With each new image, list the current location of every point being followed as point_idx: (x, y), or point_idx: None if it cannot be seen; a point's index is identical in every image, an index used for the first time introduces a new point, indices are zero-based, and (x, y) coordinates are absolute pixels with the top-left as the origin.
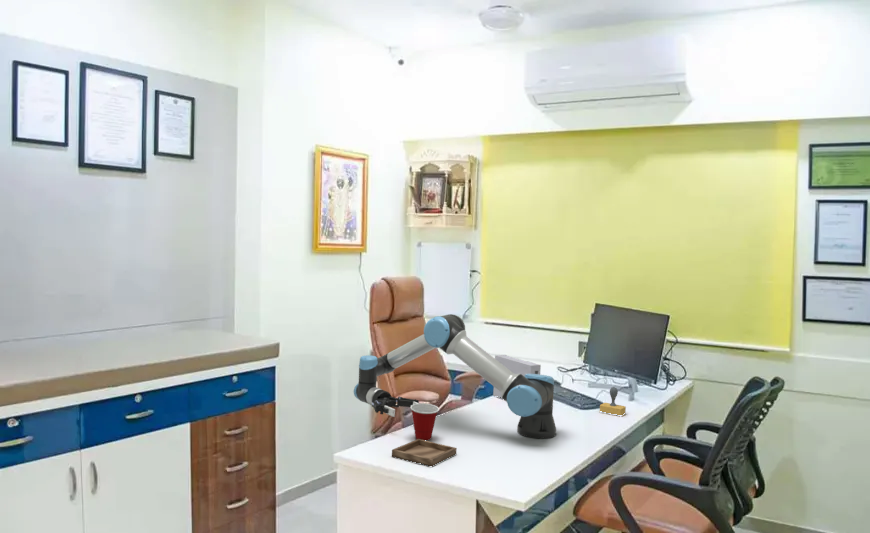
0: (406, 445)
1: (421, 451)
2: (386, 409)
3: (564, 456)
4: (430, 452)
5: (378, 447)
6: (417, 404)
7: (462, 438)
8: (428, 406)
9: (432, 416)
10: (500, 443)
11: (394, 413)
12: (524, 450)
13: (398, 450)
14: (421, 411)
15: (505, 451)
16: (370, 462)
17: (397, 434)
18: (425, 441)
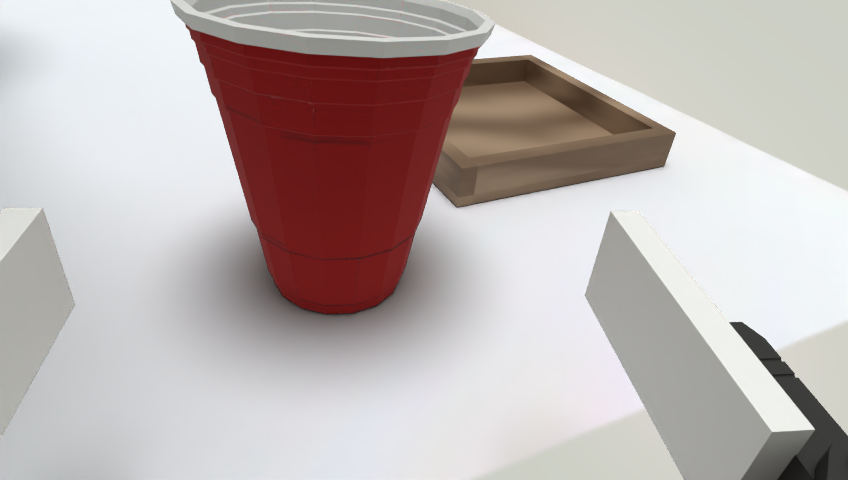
0: (580, 140)
1: (499, 139)
2: (741, 327)
3: (5, 6)
4: (462, 123)
5: (732, 264)
6: (336, 42)
7: (87, 189)
8: (211, 41)
9: (330, 34)
10: (11, 98)
11: (604, 260)
12: (42, 49)
13: (642, 121)
14: (288, 120)
15: (122, 63)
16: (776, 161)
17: (501, 433)
18: (445, 137)
